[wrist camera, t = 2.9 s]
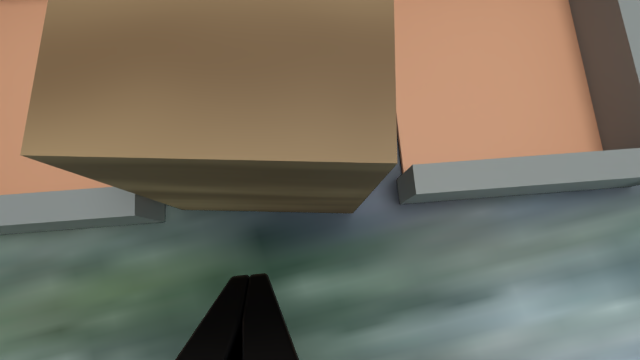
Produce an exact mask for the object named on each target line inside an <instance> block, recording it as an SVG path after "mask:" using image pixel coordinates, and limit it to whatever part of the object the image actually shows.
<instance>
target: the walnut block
mask: <svg viewBox="0 0 640 360" xmlns="http://www.w3.org/2000/svg"><path fill="white" fill-rule="evenodd" d="M20 155H21V156H24V157H27V158H30V159H33V160H36V161H39V162H42V163H45V164H48V165H51V166H54V167H57V168H60V169H63V170H66V171H69V172H72V173H75V174H77V175H80V176H83V177H86V178H89V179H92V180H95V181H98V182H101V183H104V184H107V185H110V186H113V187H116V188H119V189H122V190H125V191H128V192H131V193H134V194H137V195H140V196H143V197H146V198H149V199H152V200H155V201H158V202H161V203H164V204H167V205H170V206H173V207H176V208H179V209H182V210H217V211H266V212H314V213H353V212H354V211H355V210H356V209H357V208H358V207H359V206H360V205H361V204H362V202H363V201H364V200H365V199H366V198H367V197H368V196H369V195H370V193H371V192H372V191H373V190H374V189H375V188H376V187H377V186H378V184H379V183H380V182H381V181H382V180H383V179H384V178H385V177H386V176H387V174H388V173H389V172H390V171H391V170H392V169H393V168H394V167H395V165H396V164H397V125H396V77H395V29H394V0H48V4H47V9H46V15H45V20H44V26H43V31H42V37H41V42H40V48H39V54H38V59H37V65H36V70H35V76H34V81H33V87H32V92H31V98H30V104H29V109H28V115H27V120H26V126H25V131H24V137H23V142H22V148H21V154H20Z"/></svg>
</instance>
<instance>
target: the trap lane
mask: <svg viewBox="0 0 640 360" xmlns="http://www.w3.org/2000/svg"><path fill="white" fill-rule="evenodd" d="M47 4H48V0H0V235H3V234H16V233H29V232H42V231H56V230H69V229H82V228H95V227H108V226H121V225H134V224H147V223H160V222H165V204H164V203H161V202H158V201H155V200H152V199H149V198H146V197H143V196H140V195H137V194H134V193H131V192H128V191H125V190H122V189H119V188H116V187H113V186H110V185H107V184H104V183H101V182H98V181H95V180H92V179H89V178H86V177H83V176H80V175H77V174H75V173H72V172H69V171H66V170H63V169H60V168H57V167H54V166H51V165H48V164H45V163H42V162H39V161H36V160H33V159H30V158H27V157H24V156H21V155H20V154H21V148H22V142H23V137H24V131H25V126H26V120H27V115H28V109H29V104H30V98H31V92H32V87H33V81H34V76H35V70H36V65H37V59H38V54H39V48H40V42H41V37H42V31H43V26H44V20H45V15H46V9H47ZM394 29H395V77H396V125H397V134H398V142H399V151H400V159H401V167H402V175H401V176H400V177H399V178H398V179H397V186H398V194H399V202H400V204H409V203H422V202H435V201H448V200H461V199H474V198H487V197H501V196H514V195H527V194H540V193H553V192H566V191H579V190H592V189H605V188H618V187H631V186H636V185H640V0H394Z"/></svg>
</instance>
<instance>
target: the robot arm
mask: <svg viewBox="0 0 640 360" xmlns="http://www.w3.org/2000/svg"><path fill="white" fill-rule="evenodd" d="M175 360H299V358H298V356H297V353H296V350H295V347H294V345H293V342H292V339H291V337H290V334H289V331H288V329H287V326H286V323H285V320H284V318H283V315H282V312H281V310H280V307H279V304H278V302H277V299H276V296H275V293H274V291H273V288H272V285H271V283H270V280H269V277H268V275H267V274H265V273H264V274H253V275H251V276H250V277H249V276H248V275H242V276H233V277H232V278H231V279H230V280H229V282H228V283H227V284H226V286H225V287H224V289H223V290H222V292H221V293H220V295H219V296H218V298H217V299H216V301H215V302H214V304H213V305H212V307H211V308H210V309H209V311H208V312H207V314H206V315H205V317H204V318H203V320H202V321H201V323H200V324H199V326H198V327H197V329H196V330H195V332H194V333H193V334H192V336H191V337H190V339H189V340H188V342H187V343H186V345H185V346H184V348H183V349H182V351H181V352H180V354H179V355H178V357H177V358H176V359H175Z"/></svg>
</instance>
